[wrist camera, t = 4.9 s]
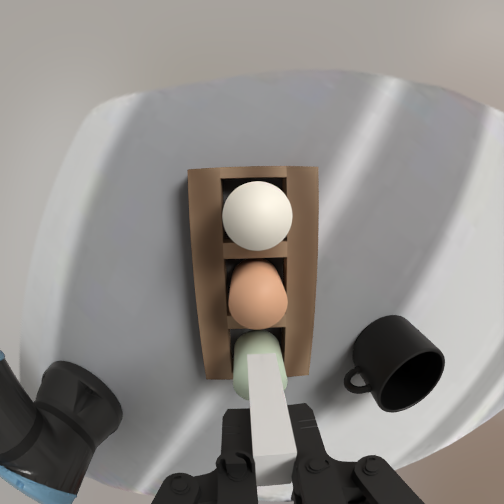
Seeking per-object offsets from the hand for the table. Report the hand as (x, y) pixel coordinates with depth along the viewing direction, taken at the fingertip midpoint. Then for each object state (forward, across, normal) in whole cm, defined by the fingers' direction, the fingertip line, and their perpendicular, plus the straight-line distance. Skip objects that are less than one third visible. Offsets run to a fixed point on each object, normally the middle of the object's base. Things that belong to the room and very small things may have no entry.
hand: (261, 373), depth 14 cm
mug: (+16, +16, -11) cm, 26 cm away
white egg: (+14, 0, +8) cm, 15 cm away
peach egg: (+15, 0, 0) cm, 15 cm away
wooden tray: (+16, 0, 0) cm, 16 cm away
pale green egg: (+14, 0, -7) cm, 15 cm away
